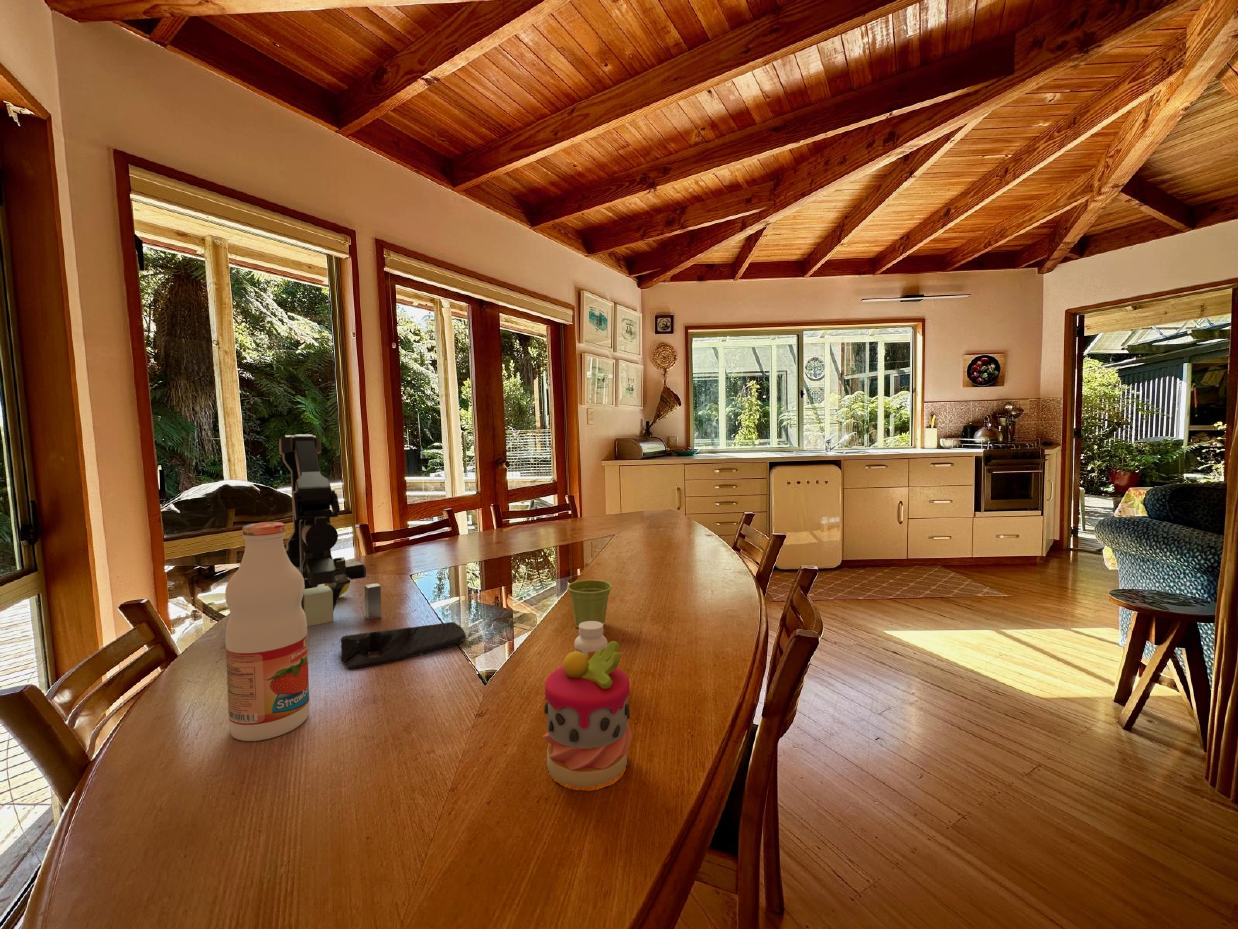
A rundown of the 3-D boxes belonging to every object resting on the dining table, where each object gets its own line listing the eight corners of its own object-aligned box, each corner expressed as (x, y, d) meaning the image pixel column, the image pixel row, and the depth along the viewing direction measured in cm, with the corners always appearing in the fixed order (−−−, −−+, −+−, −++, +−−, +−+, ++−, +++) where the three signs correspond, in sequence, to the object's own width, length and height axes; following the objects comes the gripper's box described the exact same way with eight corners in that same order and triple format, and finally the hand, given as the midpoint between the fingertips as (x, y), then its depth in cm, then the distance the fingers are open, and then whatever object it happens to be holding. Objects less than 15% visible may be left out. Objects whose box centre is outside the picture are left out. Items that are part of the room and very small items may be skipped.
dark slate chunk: (471, 653, 100) (471, 628, 100) (338, 675, 91) (338, 648, 90) (457, 626, 114) (457, 604, 114) (341, 643, 104) (340, 619, 104)
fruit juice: (247, 710, 78) (240, 520, 76) (318, 703, 80) (313, 518, 79) (215, 747, 69) (206, 532, 67) (296, 738, 71) (289, 529, 69)
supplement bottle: (612, 678, 89) (612, 621, 88) (600, 693, 84) (600, 632, 83) (582, 673, 91) (582, 617, 90) (568, 688, 85) (568, 628, 85)
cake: (558, 803, 59) (558, 670, 58) (534, 751, 69) (533, 636, 68) (644, 779, 63) (645, 655, 62) (610, 733, 73) (610, 625, 72)
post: (365, 616, 118) (364, 585, 117) (377, 614, 120) (377, 583, 119) (368, 619, 116) (367, 588, 115) (381, 617, 118) (380, 585, 117)
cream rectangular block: (301, 619, 116) (300, 589, 115) (328, 614, 119) (327, 585, 119) (305, 626, 112) (304, 595, 111) (333, 621, 115) (332, 591, 114)
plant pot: (559, 630, 110) (559, 589, 110) (579, 616, 119) (579, 577, 118) (600, 637, 107) (601, 594, 106) (618, 622, 115) (618, 582, 115)
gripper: (267, 556, 102) (270, 636, 103) (372, 543, 114) (373, 615, 115) (261, 546, 111) (263, 620, 112) (358, 535, 123) (360, 602, 123)
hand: (317, 615), depth 115 cm, fingers closed on cream rectangular block, 5 cm apart
